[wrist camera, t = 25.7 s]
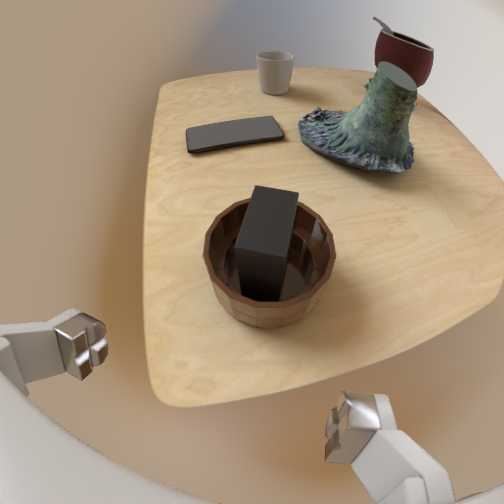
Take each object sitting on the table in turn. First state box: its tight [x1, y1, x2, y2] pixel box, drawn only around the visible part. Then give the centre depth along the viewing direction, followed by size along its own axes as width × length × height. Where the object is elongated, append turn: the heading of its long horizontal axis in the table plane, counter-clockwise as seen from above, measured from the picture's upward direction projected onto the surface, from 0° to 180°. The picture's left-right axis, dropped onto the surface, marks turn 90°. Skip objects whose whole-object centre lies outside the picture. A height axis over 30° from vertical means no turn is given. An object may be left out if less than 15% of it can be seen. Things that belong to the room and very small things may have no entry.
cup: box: [256, 51, 294, 95], centre depth 47 cm, size 8×10×8 cm
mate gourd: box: [373, 17, 434, 109], centre depth 43 cm, size 16×14×20 cm
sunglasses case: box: [234, 185, 299, 302], centre depth 23 cm, size 4×6×9 cm, turn 166°
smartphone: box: [186, 116, 284, 153], centre depth 40 cm, size 7×1×15 cm
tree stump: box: [298, 61, 417, 173], centre depth 34 cm, size 18×20×18 cm
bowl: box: [203, 198, 336, 327], centre depth 25 cm, size 11×11×6 cm
